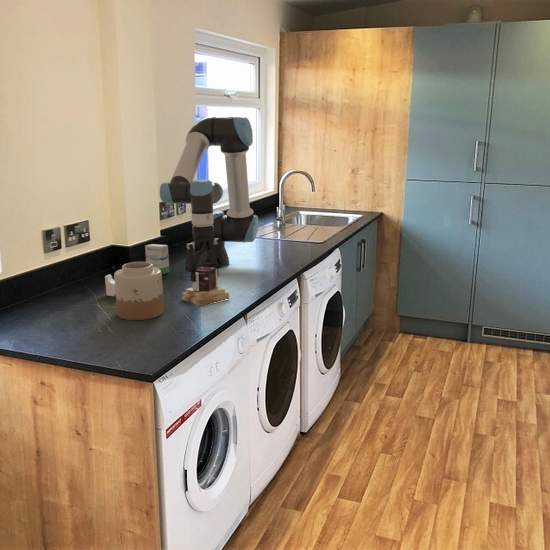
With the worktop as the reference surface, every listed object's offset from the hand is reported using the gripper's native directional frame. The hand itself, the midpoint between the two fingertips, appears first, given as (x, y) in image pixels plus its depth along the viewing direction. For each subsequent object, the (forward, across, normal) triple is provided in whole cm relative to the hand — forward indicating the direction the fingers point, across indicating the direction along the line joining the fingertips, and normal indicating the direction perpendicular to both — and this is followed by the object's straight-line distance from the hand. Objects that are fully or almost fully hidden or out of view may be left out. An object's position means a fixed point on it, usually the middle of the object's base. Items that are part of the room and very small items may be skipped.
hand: (205, 287), depth 218 cm
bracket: (+5, -15, +30) cm, 34 cm away
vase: (+5, -25, +3) cm, 26 cm away
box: (+1, 0, 0) cm, 1 cm away
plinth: (+4, 0, 0) cm, 4 cm away
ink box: (+4, +10, +46) cm, 47 cm away
